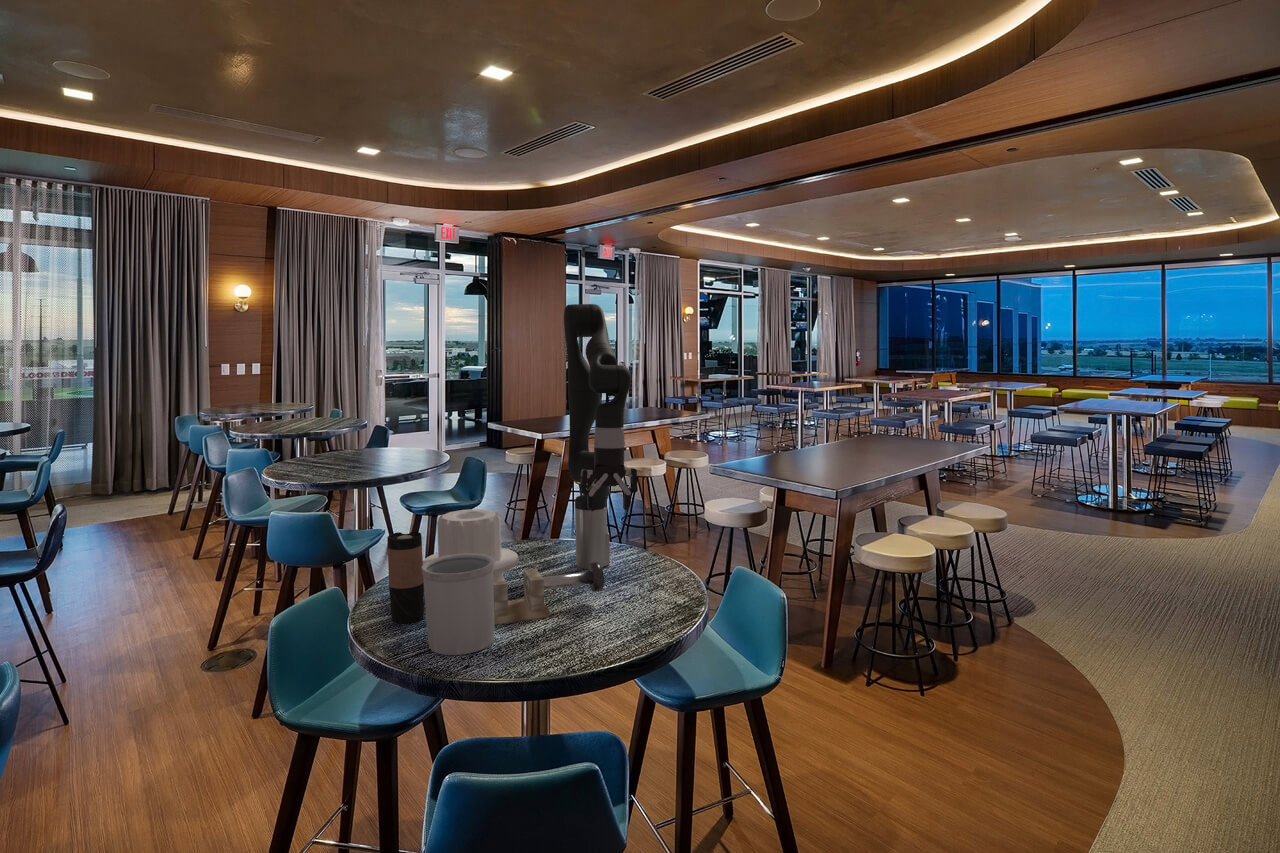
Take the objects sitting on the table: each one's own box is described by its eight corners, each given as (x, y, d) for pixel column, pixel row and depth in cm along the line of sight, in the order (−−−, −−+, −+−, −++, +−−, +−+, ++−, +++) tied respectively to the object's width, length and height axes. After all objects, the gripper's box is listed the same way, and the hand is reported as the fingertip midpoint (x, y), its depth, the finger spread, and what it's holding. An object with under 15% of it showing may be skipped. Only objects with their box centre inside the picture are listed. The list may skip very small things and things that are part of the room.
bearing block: (539, 602, 170) (539, 567, 169) (549, 616, 161) (548, 579, 160) (486, 609, 165) (485, 573, 164) (493, 624, 156) (492, 586, 155)
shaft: (595, 585, 173) (595, 558, 172) (604, 594, 167) (603, 566, 166) (524, 595, 167) (524, 567, 166) (530, 604, 160) (530, 575, 160)
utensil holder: (409, 651, 142) (406, 569, 141) (453, 625, 156) (450, 550, 154) (469, 662, 137) (466, 576, 135) (509, 633, 151) (507, 556, 149)
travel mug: (405, 628, 155) (401, 541, 153) (383, 621, 159) (379, 536, 157) (432, 617, 161) (428, 533, 159) (410, 610, 165) (406, 529, 163)
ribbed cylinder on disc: (469, 607, 167) (466, 531, 165) (402, 589, 181) (399, 518, 179) (537, 579, 188) (536, 511, 186) (473, 564, 202) (471, 501, 200)
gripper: (633, 443, 175) (632, 506, 176) (578, 444, 172) (577, 508, 173) (640, 446, 168) (640, 512, 169) (583, 447, 165) (583, 514, 166)
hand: (608, 510), depth 171 cm, fingers open, 8 cm apart
